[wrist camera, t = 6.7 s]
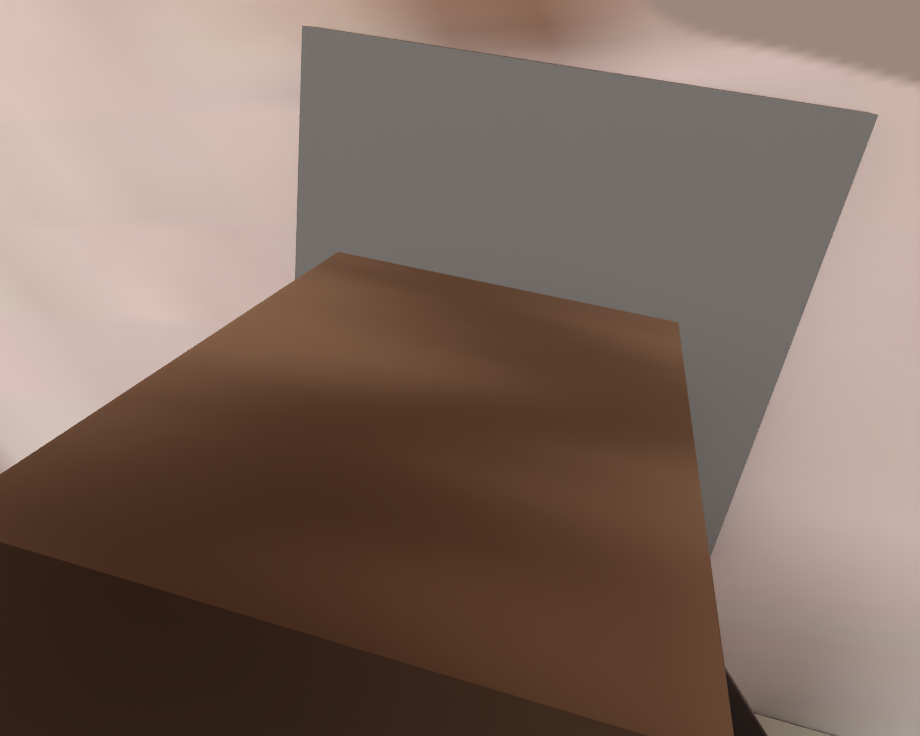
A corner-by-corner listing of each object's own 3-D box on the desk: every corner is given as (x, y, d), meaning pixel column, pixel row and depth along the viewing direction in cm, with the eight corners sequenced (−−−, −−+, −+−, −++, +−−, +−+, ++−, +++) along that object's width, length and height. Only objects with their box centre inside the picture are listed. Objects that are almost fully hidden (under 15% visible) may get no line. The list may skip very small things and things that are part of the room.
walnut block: (678, 322, 9) (738, 762, 3) (577, 661, 11) (519, 1209, 6) (337, 252, 9) (-71, 520, 4) (319, 587, 12) (57, 1019, 7)
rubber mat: (867, 112, 13) (877, 115, 12) (699, 564, 18) (701, 580, 17) (314, 26, 14) (302, 26, 14) (298, 461, 19) (289, 473, 19)
